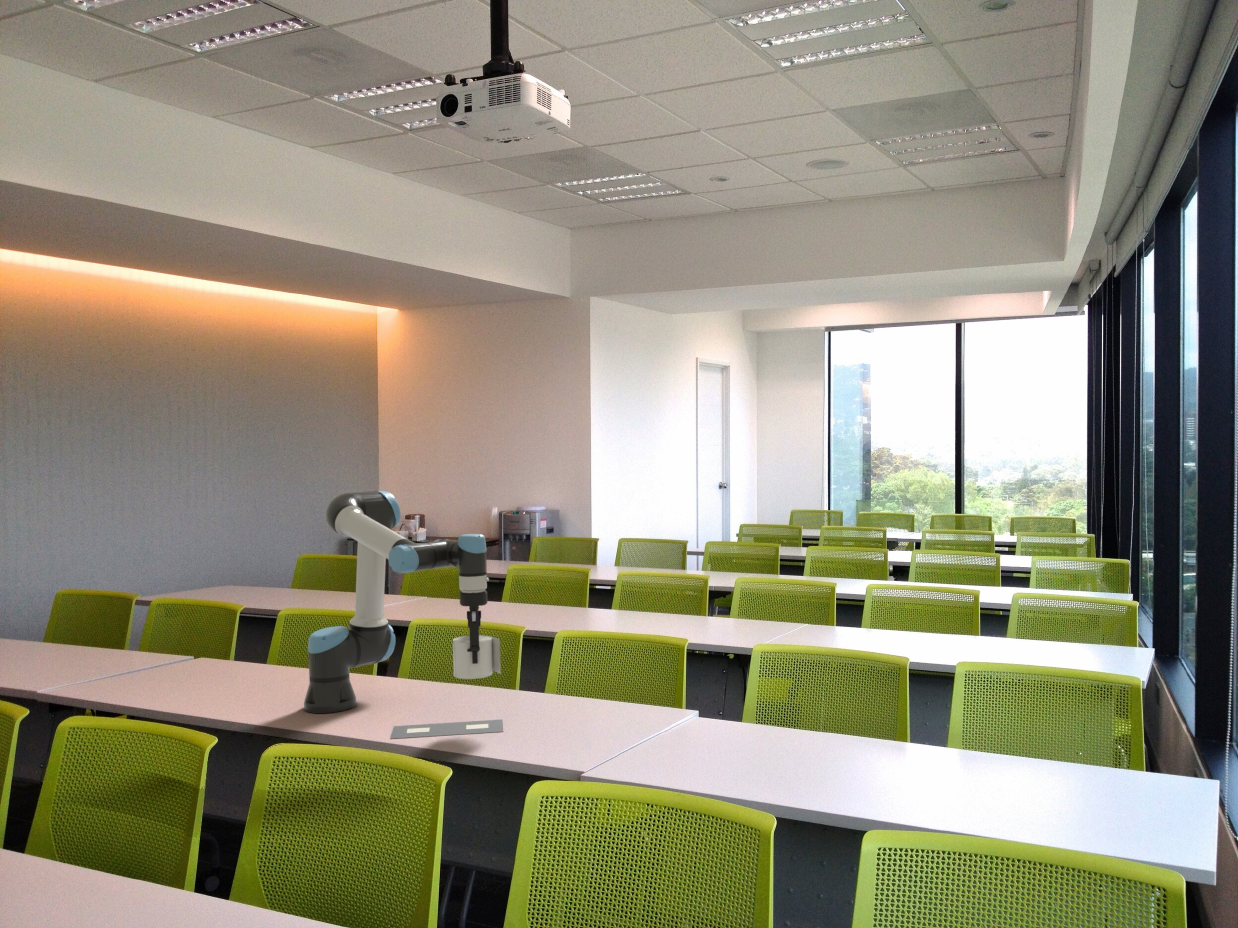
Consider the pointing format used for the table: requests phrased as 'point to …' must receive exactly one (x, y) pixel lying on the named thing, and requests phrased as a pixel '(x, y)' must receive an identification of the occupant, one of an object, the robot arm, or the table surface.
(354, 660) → the robot arm
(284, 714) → the table surface
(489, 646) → the toilet tissue
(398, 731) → the label mat
